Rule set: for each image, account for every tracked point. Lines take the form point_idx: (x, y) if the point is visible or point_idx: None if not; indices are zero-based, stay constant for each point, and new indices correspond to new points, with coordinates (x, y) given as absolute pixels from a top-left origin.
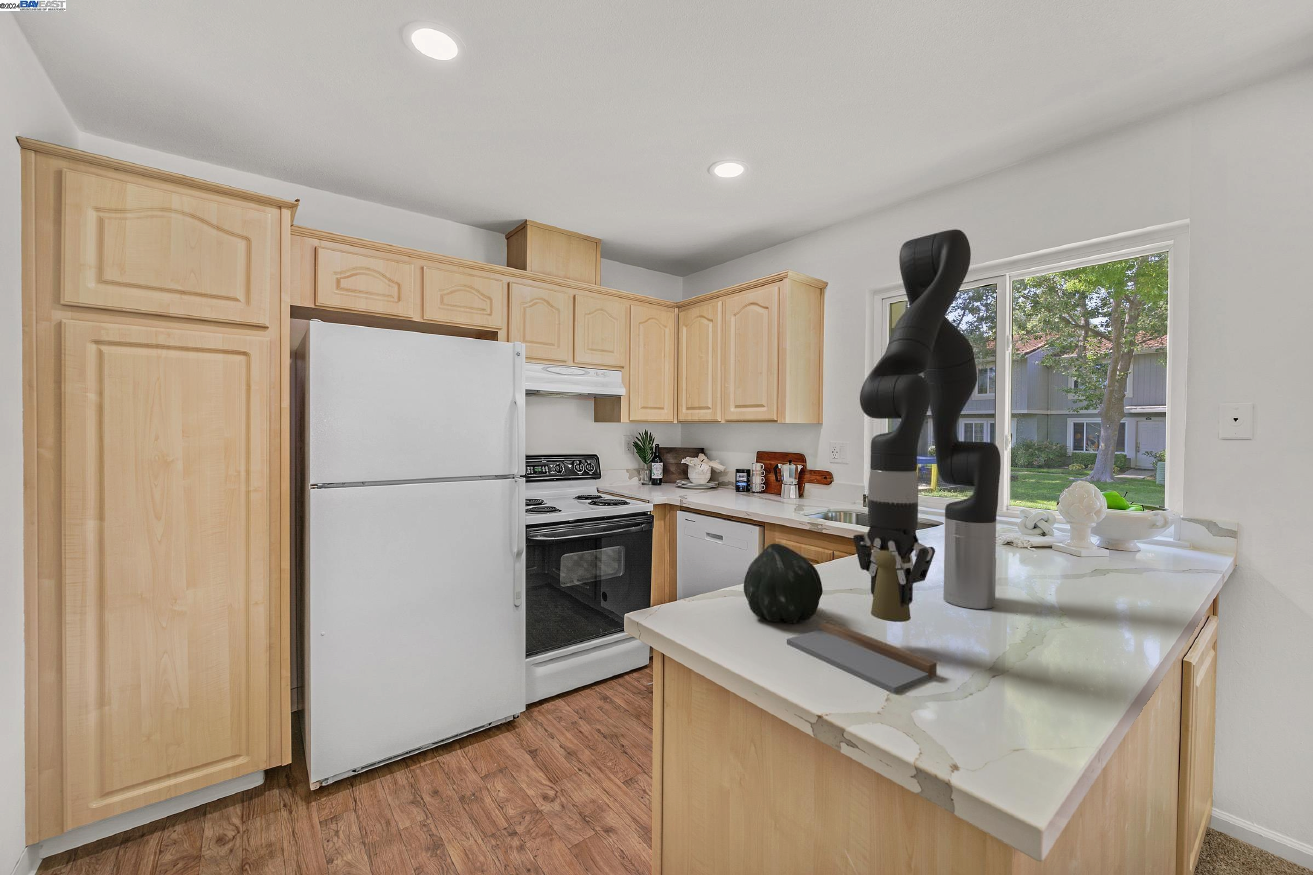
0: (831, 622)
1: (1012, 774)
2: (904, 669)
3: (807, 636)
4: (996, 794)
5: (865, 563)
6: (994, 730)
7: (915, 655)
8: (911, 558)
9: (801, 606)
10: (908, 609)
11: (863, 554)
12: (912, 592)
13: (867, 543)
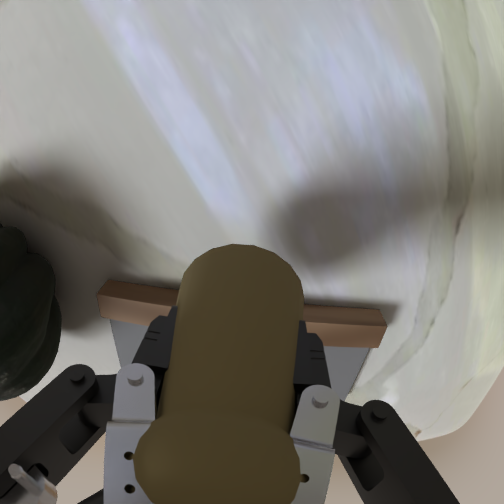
0: (108, 298)
1: (456, 410)
2: (335, 352)
3: (127, 350)
4: (442, 430)
5: (101, 434)
6: (452, 374)
7: (344, 328)
8: (325, 489)
9: (52, 331)
10: (302, 315)
11: (75, 461)
12: (326, 364)
13: (54, 499)
